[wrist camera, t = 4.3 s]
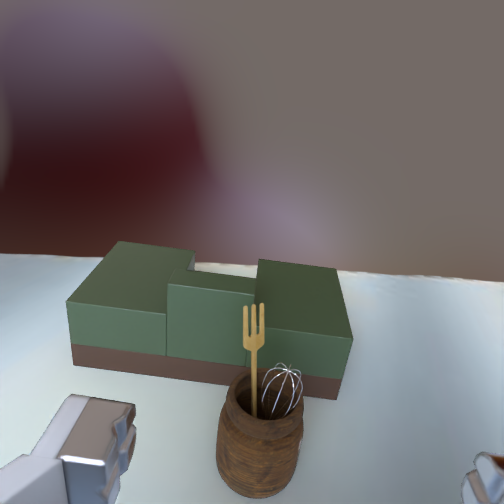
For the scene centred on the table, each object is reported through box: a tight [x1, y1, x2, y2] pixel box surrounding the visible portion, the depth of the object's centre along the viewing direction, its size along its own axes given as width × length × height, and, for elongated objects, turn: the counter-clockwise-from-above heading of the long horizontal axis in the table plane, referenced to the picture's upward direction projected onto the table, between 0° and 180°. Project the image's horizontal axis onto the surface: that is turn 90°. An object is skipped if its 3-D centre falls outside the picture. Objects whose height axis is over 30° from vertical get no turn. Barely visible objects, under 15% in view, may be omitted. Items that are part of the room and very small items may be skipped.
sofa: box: [66, 241, 353, 400], centre depth 39 cm, size 24×12×10 cm, turn 86°
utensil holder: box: [216, 303, 304, 498], centre depth 27 cm, size 6×6×12 cm
